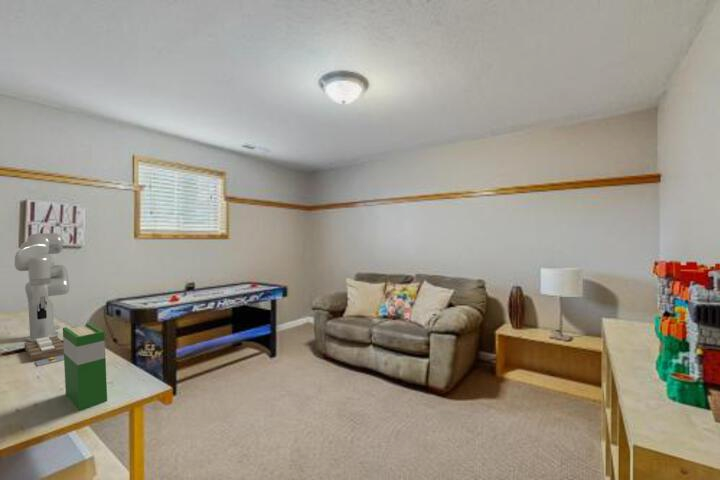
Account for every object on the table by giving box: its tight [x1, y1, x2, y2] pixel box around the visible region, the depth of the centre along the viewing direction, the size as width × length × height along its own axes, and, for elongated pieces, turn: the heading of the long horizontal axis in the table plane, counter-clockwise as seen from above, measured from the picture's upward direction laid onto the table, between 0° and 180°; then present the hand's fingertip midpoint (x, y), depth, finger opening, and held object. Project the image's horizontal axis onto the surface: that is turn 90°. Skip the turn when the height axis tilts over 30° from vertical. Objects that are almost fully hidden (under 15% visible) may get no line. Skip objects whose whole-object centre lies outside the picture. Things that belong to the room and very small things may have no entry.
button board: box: [23, 335, 64, 363], centre depth 159 cm, size 26×12×3 cm, turn 50°
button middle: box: [38, 340, 52, 348], centre depth 159 cm, size 4×4×2 cm
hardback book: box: [62, 322, 108, 412], centre depth 115 cm, size 18×7×24 cm, turn 53°
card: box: [34, 355, 64, 367], centre depth 148 cm, size 7×10×1 cm
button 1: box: [36, 337, 50, 344], centre depth 164 cm, size 4×4×2 cm
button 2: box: [40, 345, 55, 351], centre depth 155 cm, size 4×4×2 cm
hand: (42, 318), depth 163 cm, fingers closed
